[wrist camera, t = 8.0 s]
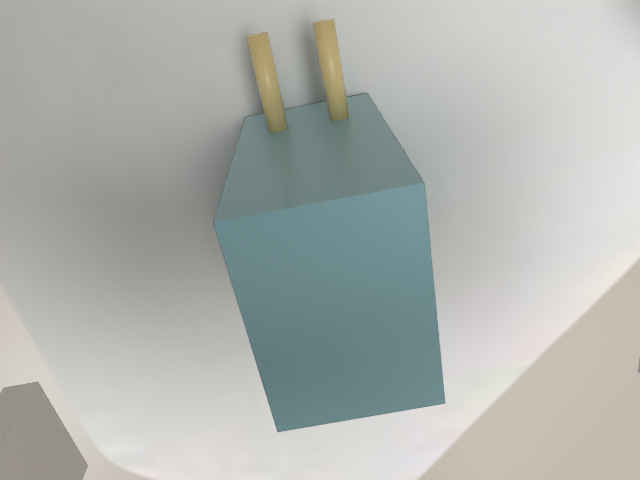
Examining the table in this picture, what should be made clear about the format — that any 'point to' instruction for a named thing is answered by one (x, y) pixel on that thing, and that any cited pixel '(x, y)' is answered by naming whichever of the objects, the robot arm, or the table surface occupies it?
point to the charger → (330, 253)
